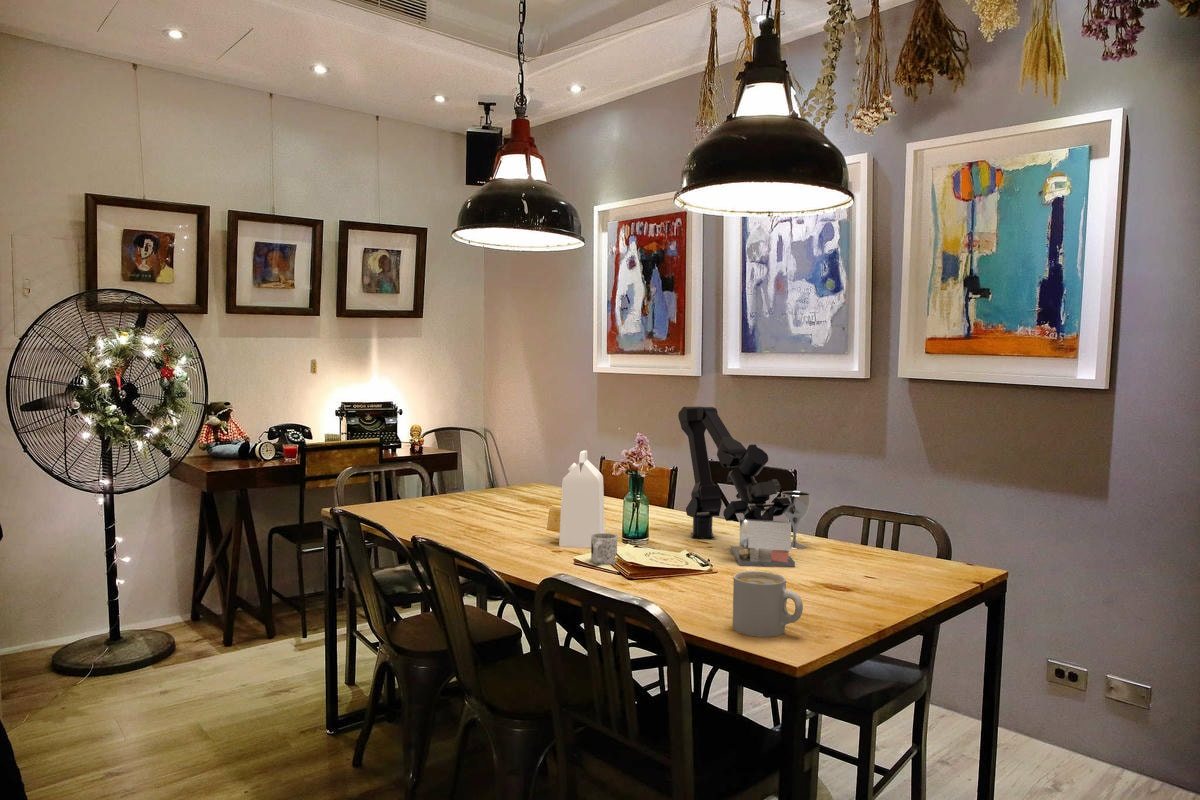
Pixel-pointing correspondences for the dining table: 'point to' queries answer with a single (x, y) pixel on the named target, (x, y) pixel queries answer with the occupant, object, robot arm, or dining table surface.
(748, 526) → the swing bar
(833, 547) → the dining table surface
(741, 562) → the base
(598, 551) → the mug
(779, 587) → the coffee mug
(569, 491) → the milk
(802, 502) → the wine glass
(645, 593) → the dining table surface
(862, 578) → the dining table surface
